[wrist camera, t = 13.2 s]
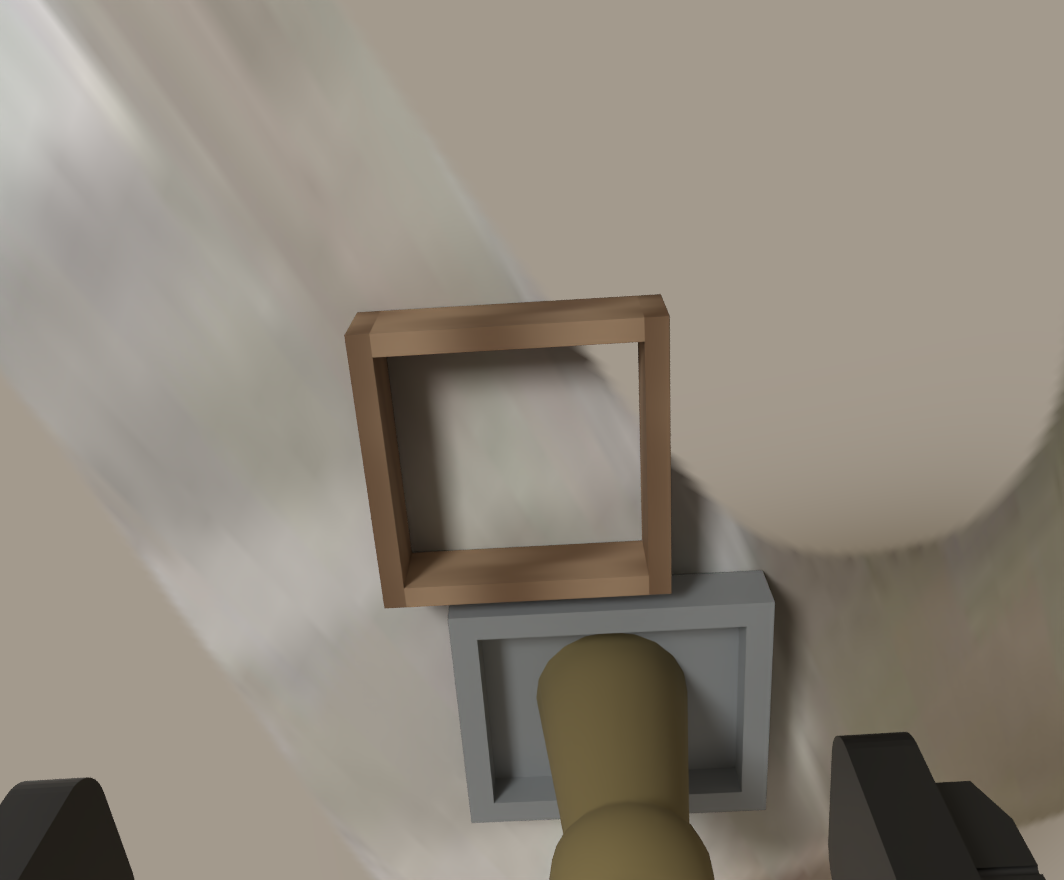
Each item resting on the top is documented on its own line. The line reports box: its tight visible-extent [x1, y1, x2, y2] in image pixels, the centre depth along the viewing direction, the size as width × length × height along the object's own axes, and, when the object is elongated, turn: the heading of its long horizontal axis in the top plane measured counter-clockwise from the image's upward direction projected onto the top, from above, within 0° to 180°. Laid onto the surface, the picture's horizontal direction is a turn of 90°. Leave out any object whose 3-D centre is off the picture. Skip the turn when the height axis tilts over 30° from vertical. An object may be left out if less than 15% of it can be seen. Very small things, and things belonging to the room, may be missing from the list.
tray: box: [448, 570, 775, 823], centre depth 39 cm, size 12×10×2 cm
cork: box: [536, 633, 714, 880], centre depth 35 cm, size 6×6×11 cm
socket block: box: [344, 294, 671, 608], centre depth 35 cm, size 10×10×2 cm
